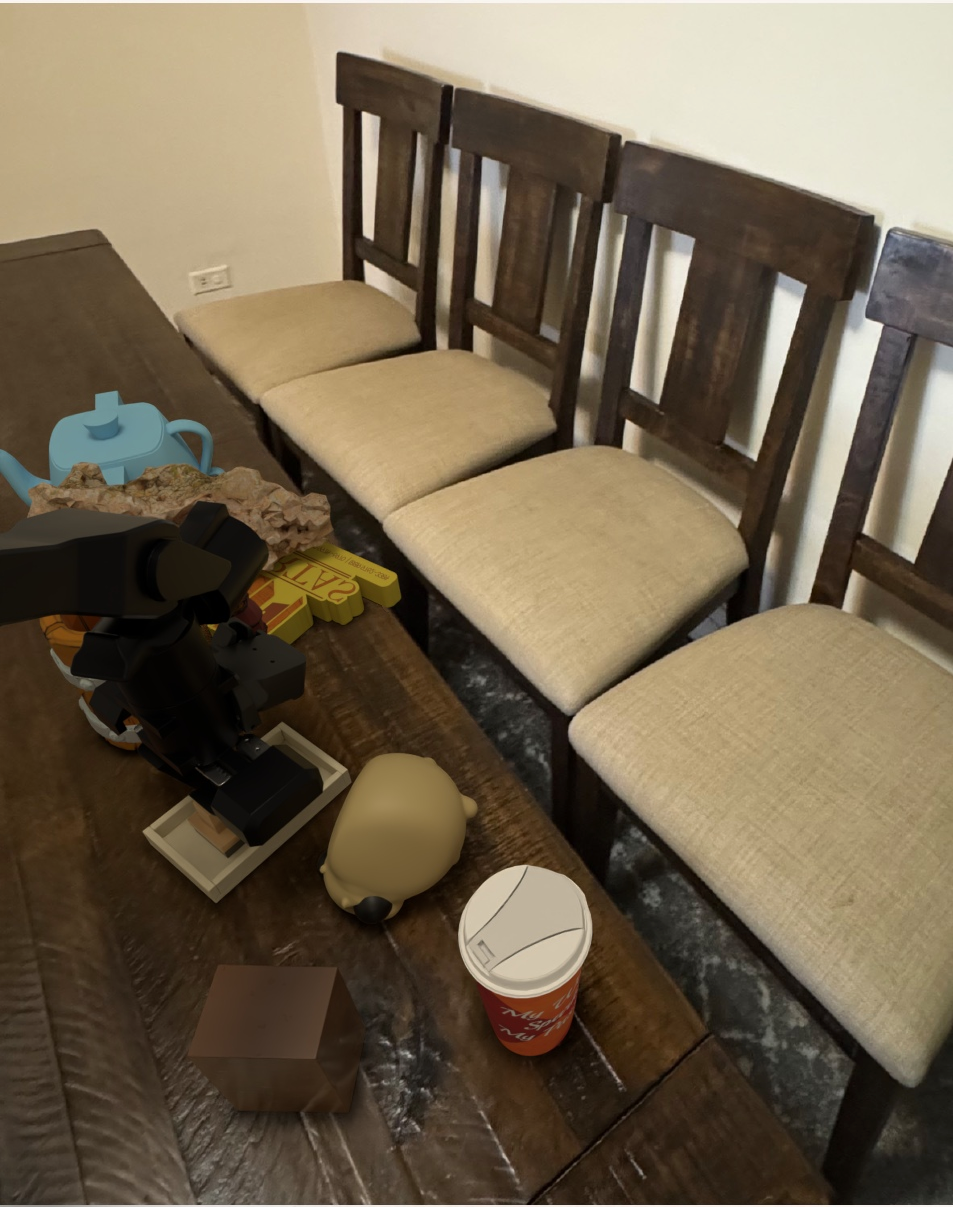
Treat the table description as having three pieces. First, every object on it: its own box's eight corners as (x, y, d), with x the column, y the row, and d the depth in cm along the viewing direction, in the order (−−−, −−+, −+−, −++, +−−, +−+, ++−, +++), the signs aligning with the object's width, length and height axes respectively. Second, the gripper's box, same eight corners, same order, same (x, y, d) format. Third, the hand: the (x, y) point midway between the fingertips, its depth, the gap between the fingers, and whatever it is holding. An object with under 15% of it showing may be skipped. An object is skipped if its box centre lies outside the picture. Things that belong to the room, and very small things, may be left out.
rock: (340, 548, 89) (296, 410, 84) (351, 565, 82) (303, 415, 77) (82, 623, 81) (14, 475, 75) (69, 648, 74) (-6, 487, 69)
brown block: (237, 1110, 52) (186, 1056, 45) (261, 1026, 55) (217, 963, 48) (349, 1113, 52) (315, 1059, 45) (366, 1028, 55) (337, 966, 49)
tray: (216, 903, 61) (208, 891, 60) (150, 844, 65) (141, 831, 63) (352, 782, 69) (347, 769, 68) (287, 734, 73) (282, 721, 71)
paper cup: (521, 1101, 53) (510, 1019, 43) (453, 1005, 57) (429, 911, 47) (613, 1017, 56) (622, 924, 47) (543, 933, 60) (538, 831, 51)
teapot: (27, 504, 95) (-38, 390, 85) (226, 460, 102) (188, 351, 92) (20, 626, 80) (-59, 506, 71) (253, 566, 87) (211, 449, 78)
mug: (94, 676, 76) (19, 552, 66) (280, 636, 81) (238, 514, 70) (85, 769, 69) (-1, 646, 59) (290, 719, 73) (244, 597, 63)
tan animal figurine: (374, 849, 69) (261, 863, 60) (440, 729, 67) (334, 726, 58) (442, 933, 64) (329, 962, 55) (517, 806, 62) (412, 815, 53)
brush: (227, 860, 63) (210, 830, 60) (193, 831, 65) (175, 800, 62) (292, 804, 67) (279, 772, 64) (259, 777, 69) (245, 746, 66)
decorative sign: (261, 530, 92) (147, 610, 83) (254, 509, 90) (137, 589, 81) (404, 596, 86) (298, 692, 76) (400, 575, 84) (290, 671, 74)
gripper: (362, 665, 55) (396, 796, 66) (190, 554, 63) (246, 687, 73) (218, 779, 48) (282, 904, 59) (45, 639, 56) (130, 772, 67)
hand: (236, 806), depth 65 cm, fingers closed on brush, 2 cm apart
